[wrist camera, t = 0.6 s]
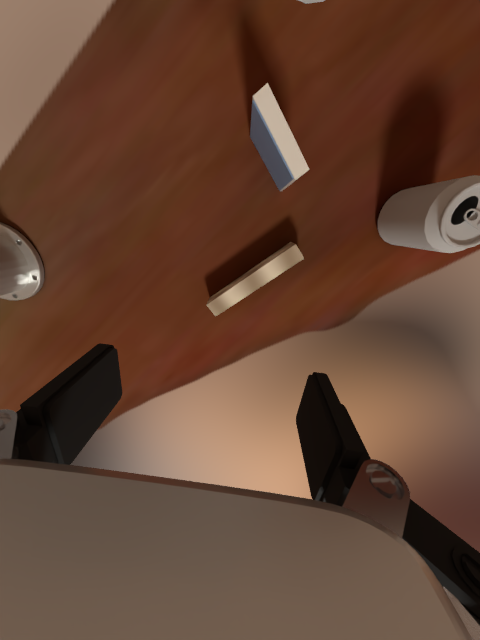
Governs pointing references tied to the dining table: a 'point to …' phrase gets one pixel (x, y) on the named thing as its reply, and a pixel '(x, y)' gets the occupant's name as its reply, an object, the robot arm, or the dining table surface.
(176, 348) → the dining table surface
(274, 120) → the tile
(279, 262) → the cream wooden plank
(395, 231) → the can
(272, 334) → the dining table surface
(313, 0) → the french press
